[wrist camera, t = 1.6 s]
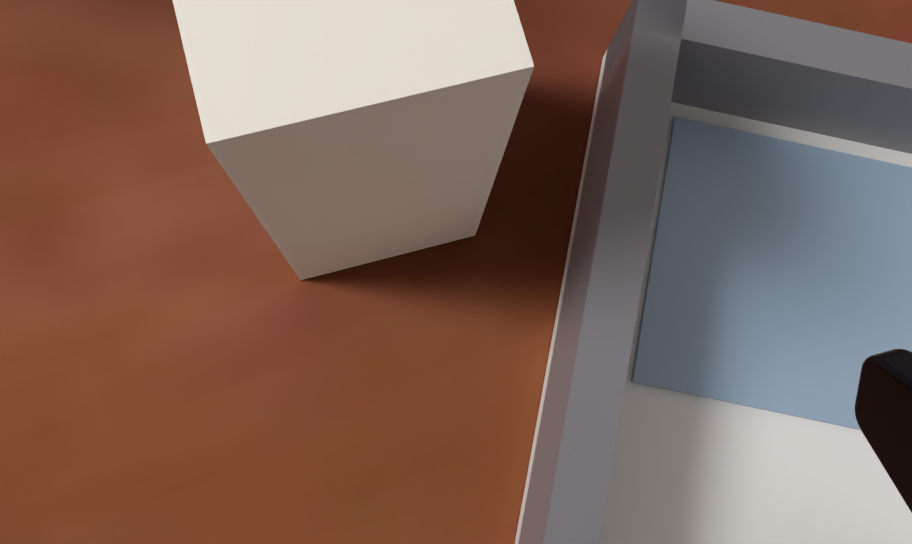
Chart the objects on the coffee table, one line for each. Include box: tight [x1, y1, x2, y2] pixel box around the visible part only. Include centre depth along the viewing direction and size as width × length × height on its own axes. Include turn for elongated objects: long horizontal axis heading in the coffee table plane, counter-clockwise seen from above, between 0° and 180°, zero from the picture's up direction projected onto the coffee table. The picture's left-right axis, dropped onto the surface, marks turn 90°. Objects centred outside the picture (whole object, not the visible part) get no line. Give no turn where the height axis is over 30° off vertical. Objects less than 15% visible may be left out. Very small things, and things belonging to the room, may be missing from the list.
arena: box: [515, 0, 912, 544], centre depth 21 cm, size 17×12×4 cm
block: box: [173, 0, 534, 280], centre depth 18 cm, size 5×5×11 cm
